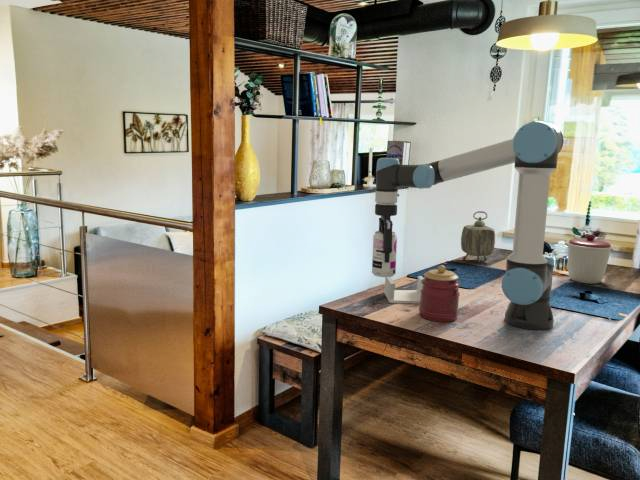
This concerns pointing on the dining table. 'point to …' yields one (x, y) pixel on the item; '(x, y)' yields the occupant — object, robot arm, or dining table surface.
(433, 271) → the canister
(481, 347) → the dining table surface
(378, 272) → the supplement can
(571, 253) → the canister
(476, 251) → the tabletop clock
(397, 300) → the can holder
